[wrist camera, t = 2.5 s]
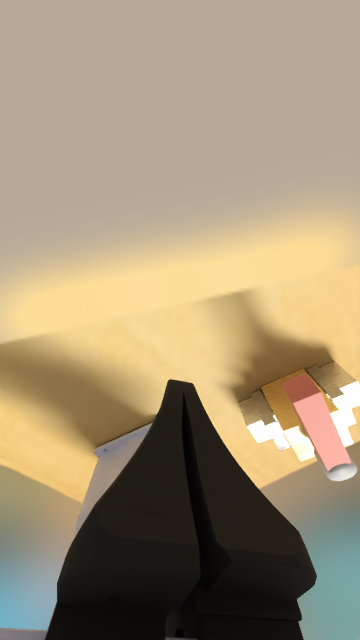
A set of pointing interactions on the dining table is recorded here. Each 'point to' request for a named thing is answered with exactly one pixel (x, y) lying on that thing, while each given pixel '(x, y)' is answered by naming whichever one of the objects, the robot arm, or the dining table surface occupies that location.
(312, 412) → the lever
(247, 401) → the valve base
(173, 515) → the robot arm
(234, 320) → the dining table surface
